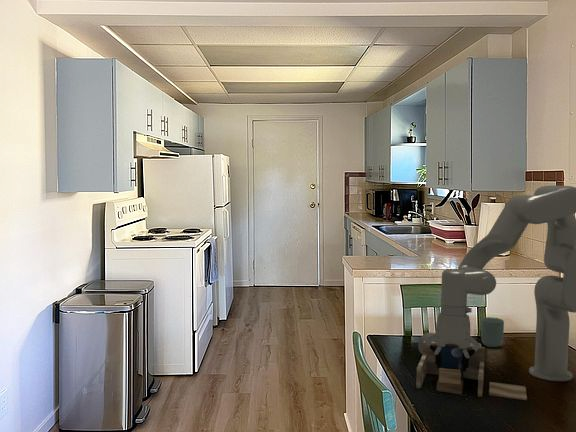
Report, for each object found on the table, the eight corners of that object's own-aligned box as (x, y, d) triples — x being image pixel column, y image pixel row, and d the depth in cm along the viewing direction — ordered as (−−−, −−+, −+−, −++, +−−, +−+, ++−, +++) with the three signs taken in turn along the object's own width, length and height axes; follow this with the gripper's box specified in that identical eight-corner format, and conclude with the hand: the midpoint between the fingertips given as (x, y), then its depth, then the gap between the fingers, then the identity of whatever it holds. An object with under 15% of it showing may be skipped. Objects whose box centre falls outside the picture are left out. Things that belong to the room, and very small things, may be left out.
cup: (476, 344, 219) (477, 317, 219) (493, 342, 222) (494, 316, 221) (489, 349, 212) (490, 322, 211) (507, 348, 214) (508, 321, 214)
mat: (489, 383, 176) (489, 381, 176) (525, 388, 172) (525, 386, 172) (489, 395, 166) (489, 393, 166) (526, 400, 163) (526, 398, 163)
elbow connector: (417, 365, 189) (481, 371, 184) (418, 332, 190) (482, 337, 186) (417, 361, 206) (476, 366, 201) (418, 331, 207) (477, 335, 203)
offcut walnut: (438, 387, 173) (438, 377, 173) (462, 390, 170) (463, 380, 170) (436, 391, 169) (436, 381, 169) (461, 395, 167) (461, 385, 166)
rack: (422, 371, 186) (423, 340, 185) (483, 379, 180) (484, 347, 179) (416, 388, 171) (417, 354, 170) (482, 396, 165) (483, 362, 164)
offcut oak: (438, 377, 172) (439, 367, 172) (459, 379, 171) (460, 369, 171) (438, 382, 168) (439, 372, 168) (460, 384, 167) (460, 374, 167)
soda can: (464, 386, 173) (466, 346, 172) (440, 384, 174) (441, 345, 173) (461, 378, 180) (462, 340, 179) (438, 377, 181) (439, 339, 180)
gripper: (484, 310, 176) (482, 368, 177) (425, 305, 182) (423, 361, 183) (483, 315, 169) (481, 375, 170) (422, 310, 175) (420, 368, 176)
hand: (451, 367), depth 177 cm, fingers closed on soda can, 7 cm apart
